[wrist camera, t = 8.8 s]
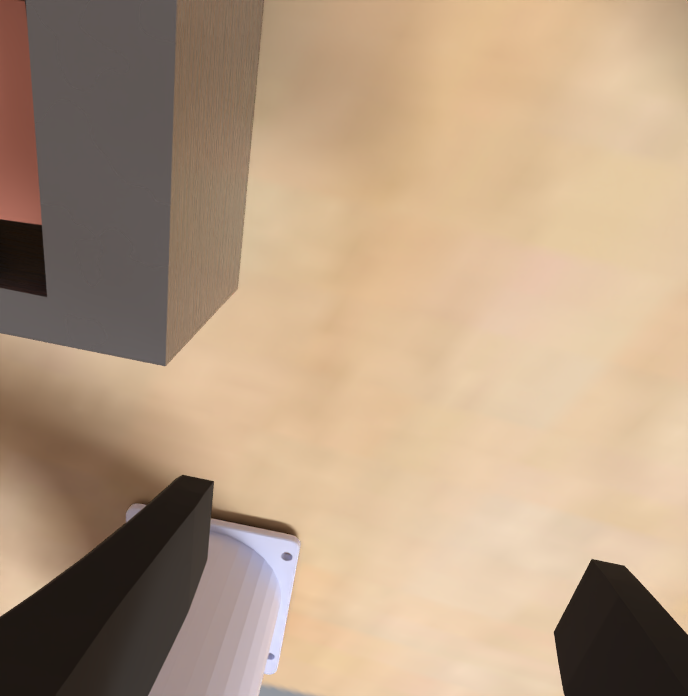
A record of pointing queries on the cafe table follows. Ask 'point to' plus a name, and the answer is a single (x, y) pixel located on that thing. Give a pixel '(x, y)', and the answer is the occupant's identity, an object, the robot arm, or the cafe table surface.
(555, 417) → the cafe table surface
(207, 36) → the box with rectangular hole
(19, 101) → the tall pink block
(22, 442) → the cafe table surface
